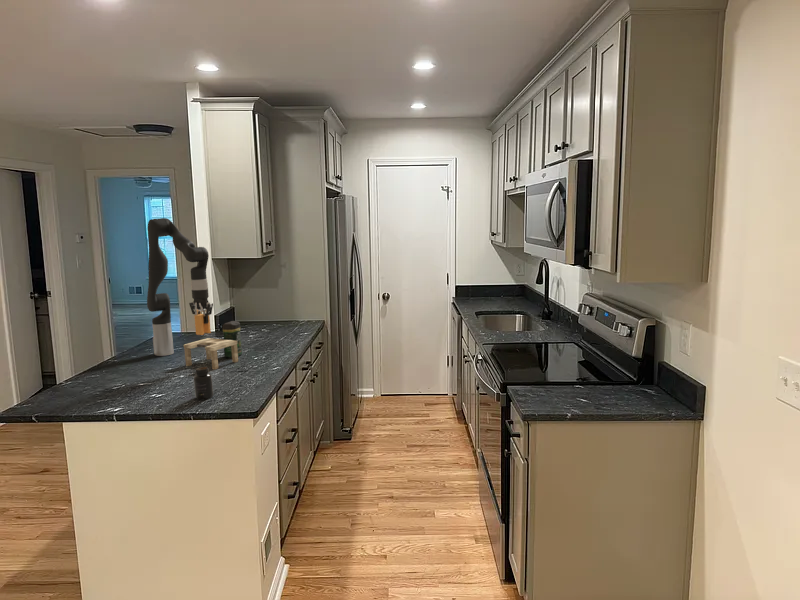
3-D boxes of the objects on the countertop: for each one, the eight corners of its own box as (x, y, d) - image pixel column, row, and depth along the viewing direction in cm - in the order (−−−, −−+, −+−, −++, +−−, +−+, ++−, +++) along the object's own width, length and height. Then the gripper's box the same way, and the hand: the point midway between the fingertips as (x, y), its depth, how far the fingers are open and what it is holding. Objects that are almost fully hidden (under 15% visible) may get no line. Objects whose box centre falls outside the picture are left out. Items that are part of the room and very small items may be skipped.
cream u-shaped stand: (185, 365, 266) (183, 344, 264) (209, 358, 280) (207, 338, 278) (215, 369, 257) (213, 347, 255) (238, 361, 271) (237, 340, 270)
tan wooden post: (196, 334, 261) (194, 315, 260) (204, 332, 266) (203, 313, 265) (202, 335, 259) (200, 315, 258) (210, 332, 264) (209, 313, 263)
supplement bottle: (198, 395, 219) (195, 366, 217) (215, 394, 220) (213, 365, 218) (193, 400, 212) (190, 371, 211) (210, 399, 213) (208, 370, 211)
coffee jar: (236, 358, 278) (233, 323, 275) (222, 358, 279) (219, 323, 276) (244, 353, 287) (242, 319, 284) (231, 353, 289) (228, 319, 286)
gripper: (183, 289, 259) (186, 323, 262) (204, 289, 253) (207, 325, 255) (195, 287, 266) (197, 321, 268) (216, 287, 260) (219, 322, 262)
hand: (202, 323), depth 262 cm, fingers closed on tan wooden post, 4 cm apart
